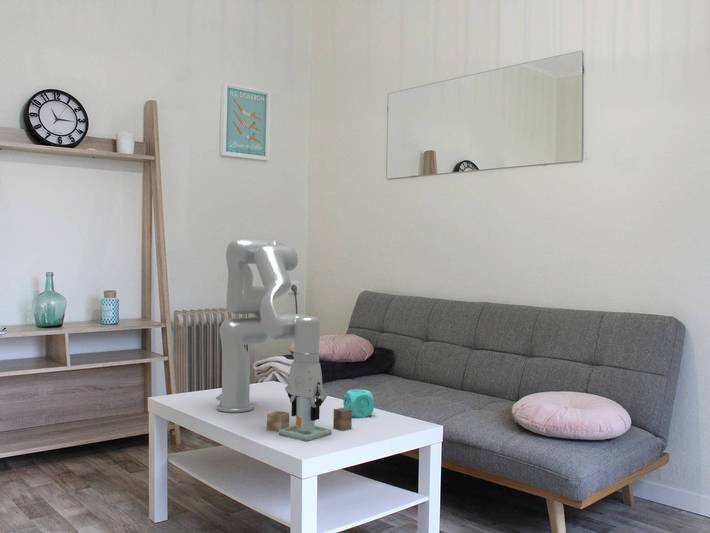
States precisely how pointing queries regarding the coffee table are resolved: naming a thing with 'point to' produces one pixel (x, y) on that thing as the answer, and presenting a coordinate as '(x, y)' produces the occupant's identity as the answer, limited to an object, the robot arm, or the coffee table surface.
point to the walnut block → (342, 419)
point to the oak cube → (277, 420)
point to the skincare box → (304, 413)
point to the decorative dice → (359, 403)
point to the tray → (305, 433)
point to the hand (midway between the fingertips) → (305, 417)
